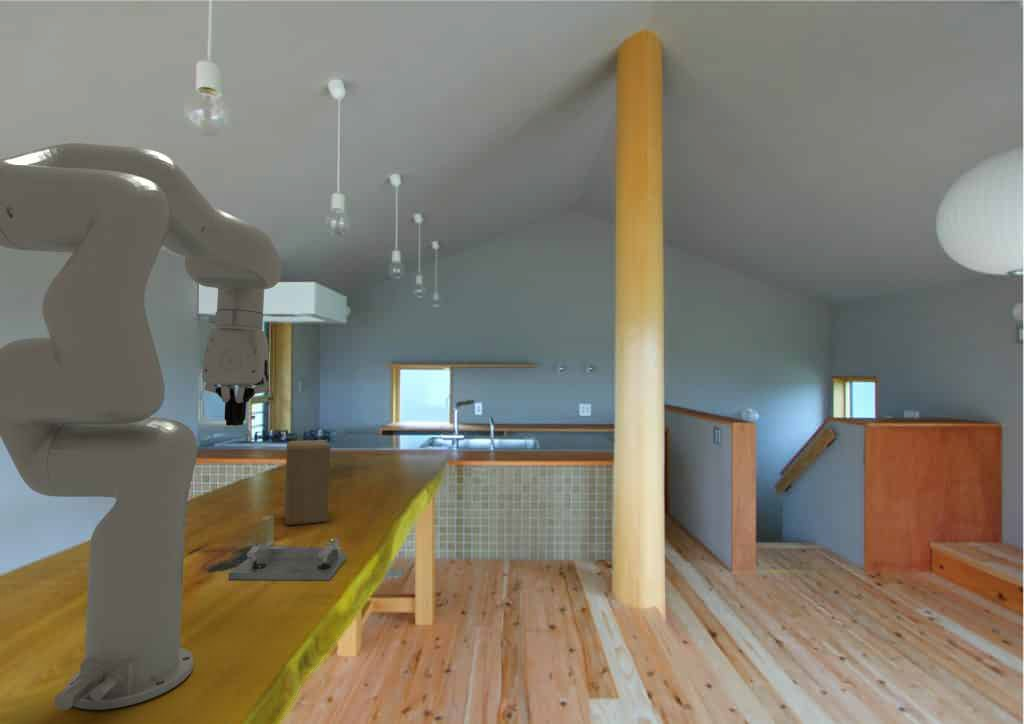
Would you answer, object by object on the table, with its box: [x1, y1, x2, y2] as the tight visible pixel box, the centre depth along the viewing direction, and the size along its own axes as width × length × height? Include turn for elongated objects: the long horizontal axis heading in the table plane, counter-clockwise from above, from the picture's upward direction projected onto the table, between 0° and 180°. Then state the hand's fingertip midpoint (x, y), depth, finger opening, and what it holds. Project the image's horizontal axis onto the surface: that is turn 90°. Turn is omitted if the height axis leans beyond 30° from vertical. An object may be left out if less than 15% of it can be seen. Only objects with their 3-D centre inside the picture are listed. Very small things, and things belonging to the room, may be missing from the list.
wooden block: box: [283, 439, 331, 526], centre depth 141 cm, size 10×10×20 cm
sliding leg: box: [246, 515, 275, 565], centre depth 105 cm, size 8×2×8 cm, turn 3°
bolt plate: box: [228, 537, 347, 581], centre depth 105 cm, size 12×18×5 cm, turn 93°
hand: (234, 424), depth 97 cm, fingers closed
